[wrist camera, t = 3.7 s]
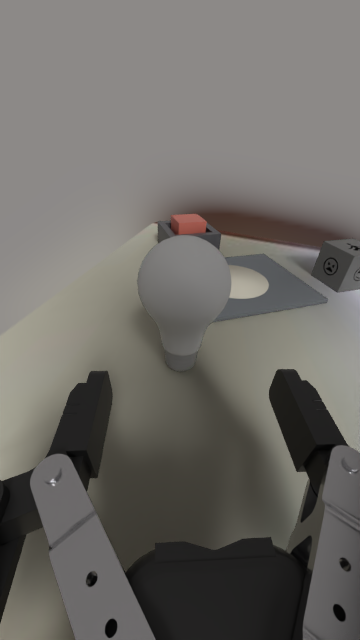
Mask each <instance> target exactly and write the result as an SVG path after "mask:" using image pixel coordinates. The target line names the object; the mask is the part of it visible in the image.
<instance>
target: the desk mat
mask: <svg viewBox="0 0 360 640" xmlns="http://www.w3.org/2000/svg"><path fill="white" fill-rule="evenodd" d="M225 260H226V262H227V264H228V266H229V269H230V274H231V292H230V296H229V299H228V301H227V303H226V305H225V307H224V309H223V310H222V311H221V313H220V314H219V315H218V316H217V317H216V319H215V320H214V321H213V322H216V321H222V320H228V319H234V318H239V317H245V316H251V315H257V314H263V313H269V312H275V311H281V310H286V309H292V308H298V307H304V306H310V305H316V304H322V303H327V300H328V299H327V298H326V297H324V296H323V295H322V294H320V293H319V292H317V291H316V290H314V289H313V288H312V287H310V286H309V285H307V284H306V283H304V282H303V281H302V280H300V279H299V278H297V277H296V276H295V275H293V274H292V273H290V272H289V271H287V270H286V269H285V268H283V267H282V266H280V265H279V264H278V263H276V262H275V261H273V260H272V259H270V258H269V257H268V256H266V255H265V254H256V255H246V256H236V257H226V258H225Z"/></svg>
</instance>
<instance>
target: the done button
mask: <svg viewBox="0 0 360 640" xmlns="http://www.w3.org/2000/svg"><path fill="white" fill-rule="evenodd" d="M206 223H207V222H206V221H205V220H204V219H203V218H201V217H200V216H199V215H197V214H184V215H171V230H172V232H173V233H174V234H175V235H180V234H194V233H206Z"/></svg>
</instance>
